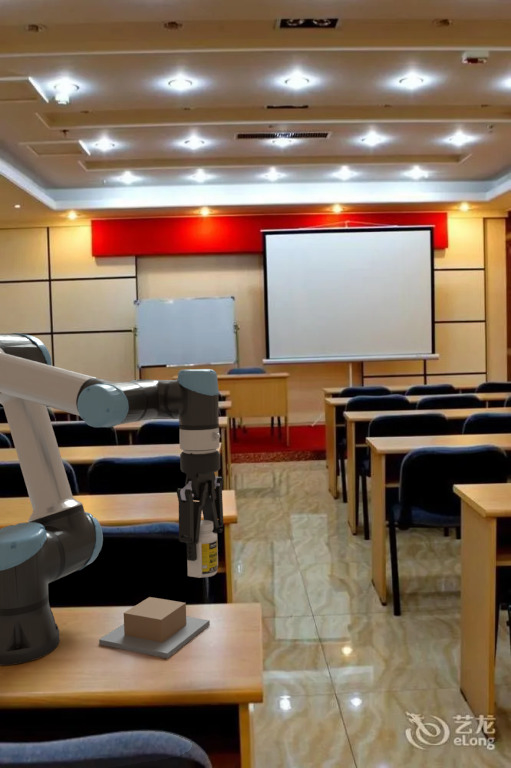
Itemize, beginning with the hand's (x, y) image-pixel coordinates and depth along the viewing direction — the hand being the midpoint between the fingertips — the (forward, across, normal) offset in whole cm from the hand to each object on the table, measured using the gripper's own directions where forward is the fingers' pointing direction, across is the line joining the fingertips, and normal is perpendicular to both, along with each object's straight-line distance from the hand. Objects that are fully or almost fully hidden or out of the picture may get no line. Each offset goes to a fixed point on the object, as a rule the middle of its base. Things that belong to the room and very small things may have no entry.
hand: (203, 570), depth 122 cm
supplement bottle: (+1, 0, 0) cm, 1 cm away
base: (+15, +2, +13) cm, 20 cm away
